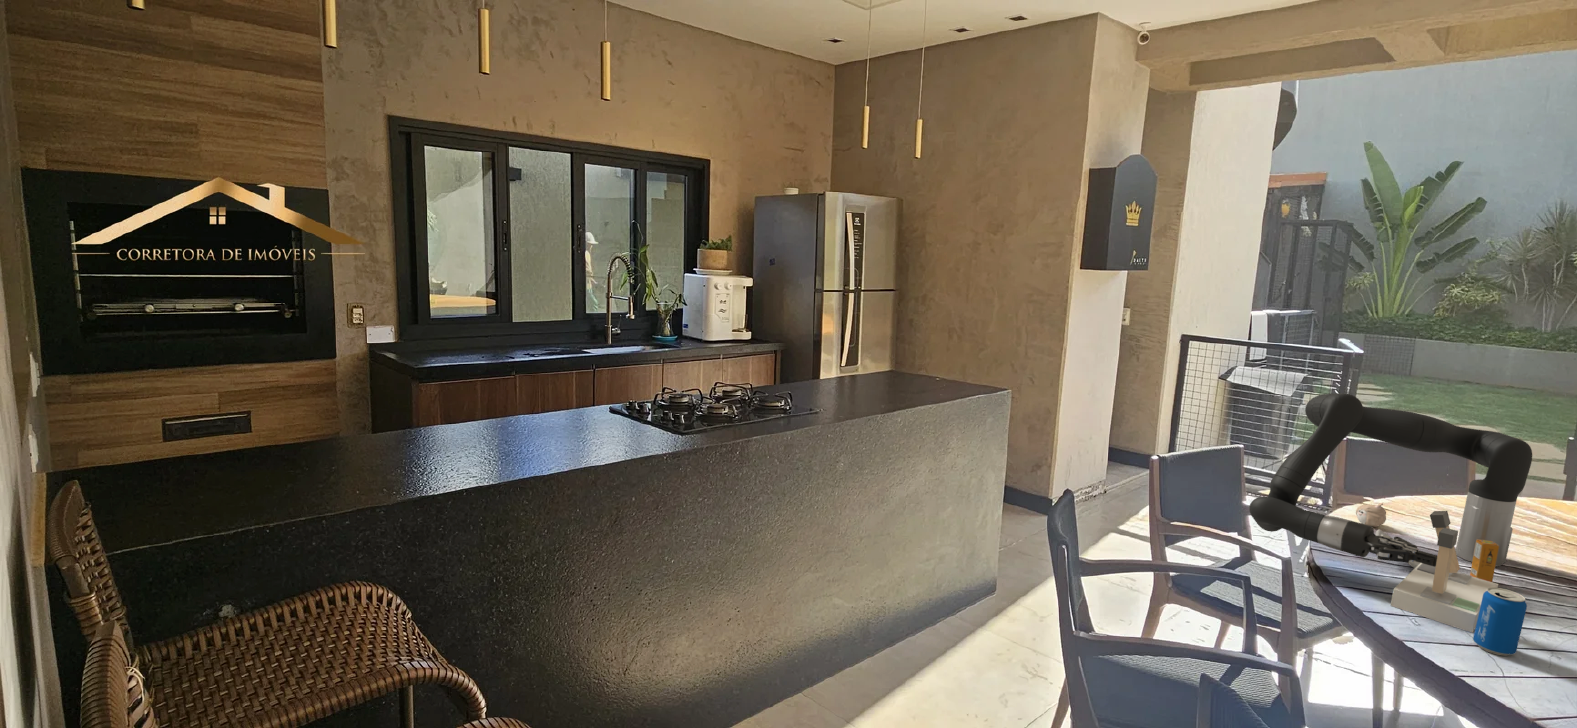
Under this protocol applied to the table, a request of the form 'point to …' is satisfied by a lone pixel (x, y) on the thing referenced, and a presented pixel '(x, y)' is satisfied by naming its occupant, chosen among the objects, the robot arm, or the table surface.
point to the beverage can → (1500, 621)
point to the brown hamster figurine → (1371, 514)
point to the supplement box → (1484, 560)
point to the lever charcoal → (1439, 522)
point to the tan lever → (1444, 558)
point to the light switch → (1381, 533)
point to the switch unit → (1442, 597)
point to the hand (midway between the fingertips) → (1438, 561)
